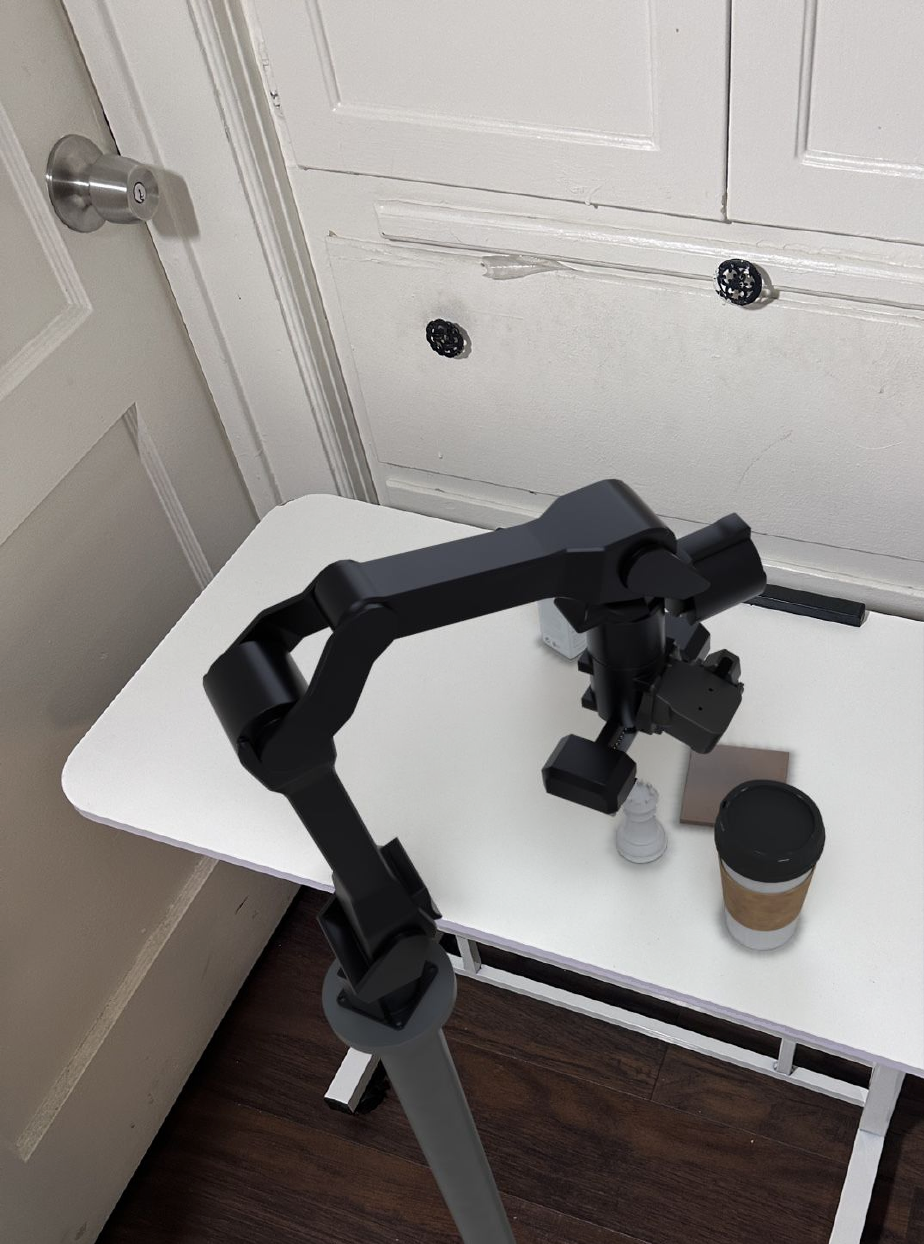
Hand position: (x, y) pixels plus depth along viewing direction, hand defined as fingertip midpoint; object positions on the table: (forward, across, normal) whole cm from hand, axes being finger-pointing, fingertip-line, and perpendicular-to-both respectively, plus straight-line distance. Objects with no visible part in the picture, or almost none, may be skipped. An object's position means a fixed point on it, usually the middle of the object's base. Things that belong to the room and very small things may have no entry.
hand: (633, 772), depth 101 cm
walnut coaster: (+10, +9, -6) cm, 15 cm away
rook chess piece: (+10, 0, -1) cm, 10 cm away
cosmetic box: (+10, +21, +16) cm, 28 cm away
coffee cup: (+10, -3, -13) cm, 17 cm away
